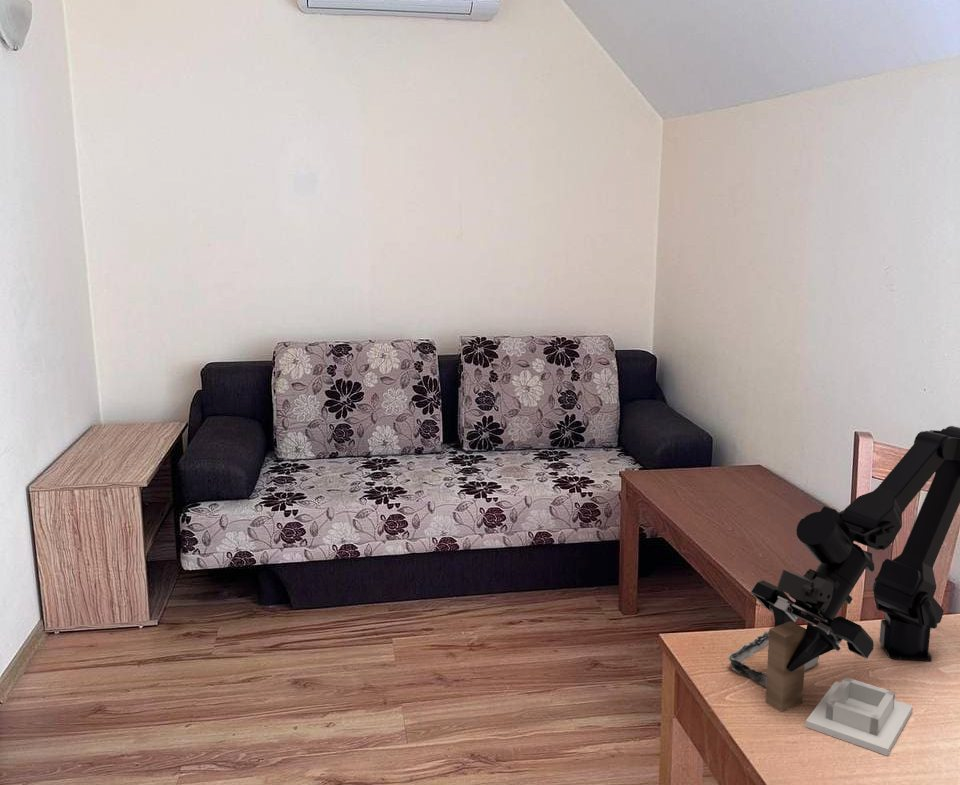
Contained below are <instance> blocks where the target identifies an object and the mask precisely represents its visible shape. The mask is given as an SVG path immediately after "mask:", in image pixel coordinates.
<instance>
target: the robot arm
mask: <svg viewBox="0 0 960 785" xmlns="http://www.w3.org/2000/svg"><path fill="white" fill-rule="evenodd" d="M914 438H915V439H914V441H913V445H912V446H910V448H909V449H908V450H907V452H906V453H905V454H904V455H903V456H902V458H900V460H899V461H898V462H897V463H896V465H895V466H894V467H893V469H891V470H890V472H889V473H888V474H887V475H886V476H885V478H884V479H883V481H881V482H880V484H879V485H878V486H877V487H876V488H875V489H874V490H873V491H871V492H867V493H864V494H862V495H859V496H858V497H856V498H855V499H853V501H852V502H850V504H848V506H846V507H845V508H844V509H843V510H841V511H839V512H838V511H837V509H835V508H831V507H829V506H826V505H824V506H822V509H821V510H820V511H815V512H812V513H809V514H807V515H806V516H804V517H803V518H801V519H800V521H799V522H798V524H797V526H796V537H797V539H799V541H800V542H801V543H802V545H803V546H804V547H805V548H806V549H807V550H808V551H809V553H810V554H811V555H812V556H813V557H814V559H816V560H817V561H818V562H819V564H818V565H817V567H816V569H815V570H814V569H811V568H809V569H808V570H807V571H806V572H805V573H804V574H803V575H802V574H799V573H796V572H793V571H790V570H787V569H783V570H782V573H781V575H780V578H779V580H778V583H777V585H774V584H772V583H771V582H770V583H769V582H768V581H765V580H760V581H757V582H756V583H755V585H754V586H753V587H752V589H751V591H750V593H751V595H752V596H753V597H755V599H756V600H757V601H758V602H759V603H760V604H761V605H762V606H763V607H764V608H765V609H766V610H768V611H769V612H772V613H773V617H774V625H773V627H776V626H779V625H781V624H784V623H787V622H790V621H791V622H793V623H795V624H797V623H796V622H797V621H798V619H800V620H803V621H805V622H807V623H806V628H805V629H806V635H805V637H804V639H803V640H802V642H801V643H800V645H799V647H798V648H797V650H796V651H795V653H794V654H793V656H792V657H791V659H790V661H789V663H788V665H787V669H788V670H789V671H791V672H792V671H794V670H795V669H797V668H799V667H801V666H802V665H804V664H806V663H807V662H809V661H811V660H813V659H814V658H816V657H818V656H819V657H820V656H823V655H824V654H827V653H829V652H831V651H837V652H839V651H840V650H841V647H840V644H841V643H842V641H846V643H847V648H848V650H849V651H850V652H852V653H854V654H856V655H857V656H859V657H862V658H864V659H865V660H866V659H868V658H869V657H870V656H871V654H872V652H873V651H874V645H875V644H874V639H873V638H872V637H871V636H870V634H869V633H868V632H867V631H866V630H865V629H864V628H863V627H862V625H860V624H858V623H856V622H854V621H852V620H850V619H847V618H845V617H843V616H842V615H839V616H837V615H838V613H839V611H840V610H841V608H842V607H843V605H844V604H848V605H850V604H851V603H852V601H853V597H852V596H851V595H850V594H851V593H852V591H853V589H854V588H855V586H856V584H857V583H858V582H859V580H860V578H861V576H862V575H863V574H864V572H865V571H866V570H867V571H869V572H874V571H875V563H874V561H873V553H872V552H870V551H867V550H864V549H863V548H862V547H861V546H860V545H862V546H866V547H868V548H871V549H873V550H877V551H879V550H883V551H884V550H886V549H887V548H889V547H890V546H891V545H892V544H893V543H894V542H895V539H896V538H897V535H898V534H899V532H900V531H901V529H902V527H903V513H904V512H905V510H906V508H907V507H909V505H910V503H911V502H912V501H913V500H914V499H915V498H916V496H917V495H918V493H919V492H920V491H921V490H922V489H923V488H924V486H926V484H927V483H928V481H929V480H930V479H931V478H932V477H933V478H932V481H931V483H930V485H929V488H928V490H927V492H926V495H925V498H924V499H923V501H922V504H921V506H920V509H919V512H918V514H917V516H916V518H915V520H914V523H913V526H912V528H911V531H910V533H909V535H908V537H907V540H906V542H905V545H904V547H903V550H902V551H901V553H900V554H899V555H897V556H896V557H895V558H893V559H889V558H885V559H884V560H883V561H882V563H881V566H880V570H879V572H878V574H877V575H876V577H875V578H874V583H873V586H872V592H873V597H874V602H875V607H876V610H877V611H879V612H880V611H881V612H883V613H884V619H881V620H880V630H879V631H880V632H879V643H880V645H881V647H882V648H883V650H885V652H886V654H887V656H888V658H890V659H897V660H898V659H899V660H911V661H925V662H927V661H929V662H930V661H932V660H933V658H932V657H933V656H932V655H931V653H930V652H929V647H930V639H931V637H930V636H931V629H936V628H938V624H940V623H941V621H942V619H943V615H944V613H945V611H944V609H943V608H942V606H941V605H940V604H939V602H938V601H937V600H936V599H935V594H936V591H937V590H936V589H937V582H936V578H935V574H934V565H935V563H936V560H937V558H938V556H939V553H940V552H941V549H942V546H943V544H944V541H945V539H946V537H947V534H948V532H949V529H950V527H951V525H952V522H953V520H954V518H955V516H956V513H957V510H958V508H959V506H960V427H959V426H954V425H949V426H947V427H945V428H942V429H941V430H933V429H930V430H925V431H920V432H919V433H917V434H916V436H915V437H914ZM933 475H934V476H933ZM858 544H860V545H858ZM787 594H788V595H789V596H788V595H787ZM792 599H793V600H792ZM794 600H795V601H794Z"/></svg>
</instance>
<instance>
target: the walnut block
mask: <svg viewBox="0 0 960 785" xmlns="http://www.w3.org/2000/svg"><path fill="white" fill-rule="evenodd" d="M795 623H796V622H795ZM795 623H793V622H791V621H790V622H787V623H784V624H781V625H779V626H776V627H774V626H773V627H771V628H769V630H768V631H769V645H767V646H768V649H767V671H766V675H767V684H766V687H765V688H766V689H765V703H766V704H768V705H770V706H772V707H773V708H775V709H776V710H778V711H779V712H781V713H782V712H783V711H784V712H785V711H786V710H789V709H790V708H793V707H796V706H797V705H800V704H802V703H803V699H804V698H803V697H804V684H805V683H804V681H805V671H804V669H805V664H804V665H802V666H801V667H799V668H797V669H795V670H794V671H792V672H791V671H789V670H788V669H787V665H788V663H789V661H790V659H791V657H792V656H793V654H794V653H795V651H796V650H797V648H798V647H799V645H800V643H801V642H802V640H803V639H804V637H805V635H806V629H807V628H805V627H804V626H801V625H799V624H797V623H796V624H795Z"/></svg>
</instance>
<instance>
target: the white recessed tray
mask: <svg viewBox="0 0 960 785" xmlns="http://www.w3.org/2000/svg"><path fill="white" fill-rule="evenodd" d="M912 713H913V705H911V704H909V703H905V702H902V701H899V700H896V692H894V691H891V690H888V689H885V688H881V687H878V686H875V685H873V684H868V683H866V682H862V681H859V680H856V679H854V678H850V677H846V676H845V677H844V678H843V680H842V681H841V682H839V681H834V683H833V684H832V685H831V686H830V687H829V689H828V691H827V692H826V694H824V696H823V697H822V699H821V700H820V701H819V703H818V704H817V705H816V706H815V708H814V709H813V711H812V712H811V713H810V714H809V716H808V717H807V718H806V720H805V728H808V729H811V730H813V731H816V732H819V733H822V734H824V735H827V736H831V737H834V738H836V739H837V740H838V739H839V740H842V741H844V742H847V743H850V744H853V745H855V746H858V747H861V748H864V749H866V750H869V751H873V752H876V753H878V754H881V755H884V756H887V757H888V756H889V753H890V752H891V750H892V749H893V747H894V745H895V744H896V741H897V740H898V738H899V736H900V734H901V733H902V731H903V729H904V728H905V726H906V724H907V722H908V721H909V719H910V716H912Z"/></svg>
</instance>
